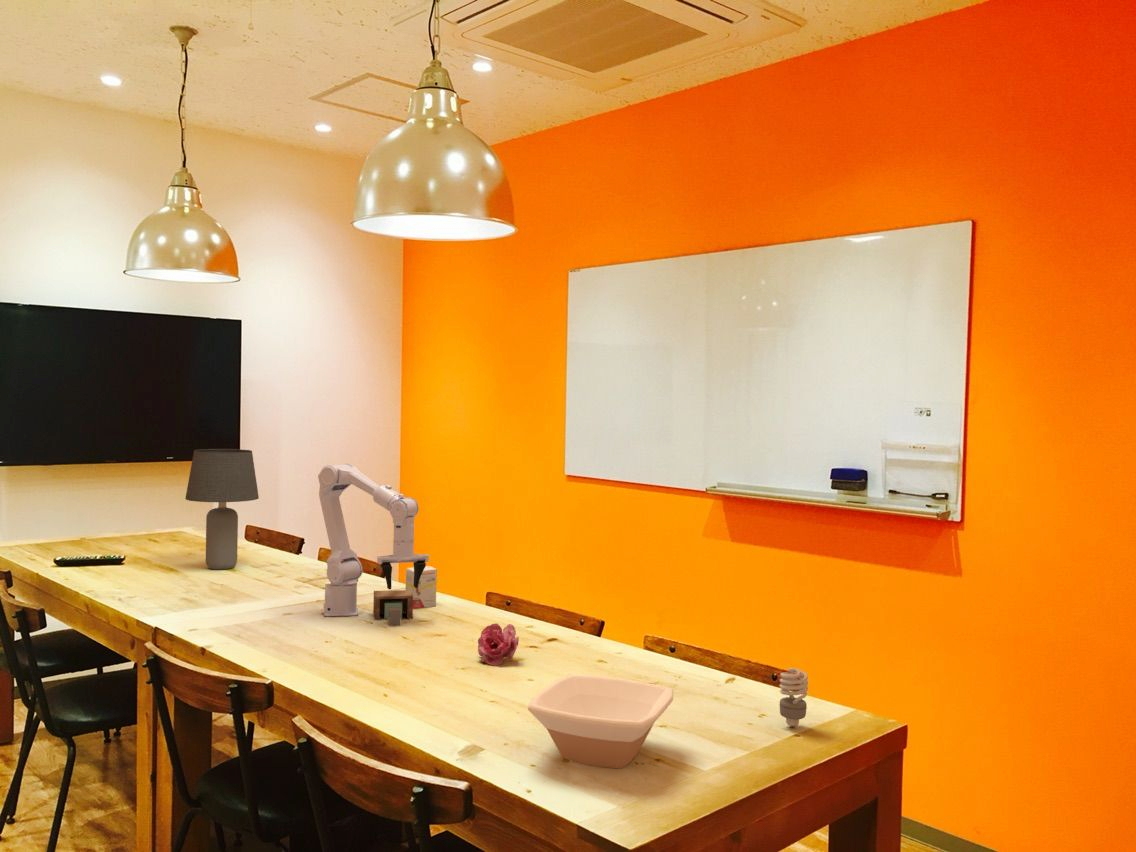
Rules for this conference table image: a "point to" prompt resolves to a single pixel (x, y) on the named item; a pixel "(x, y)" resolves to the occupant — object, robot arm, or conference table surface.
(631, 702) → the bowl
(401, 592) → the walnut cubby
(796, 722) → the light bulb
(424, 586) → the ink box
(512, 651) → the flower
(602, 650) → the conference table surface
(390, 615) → the block with rod
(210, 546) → the lamp
